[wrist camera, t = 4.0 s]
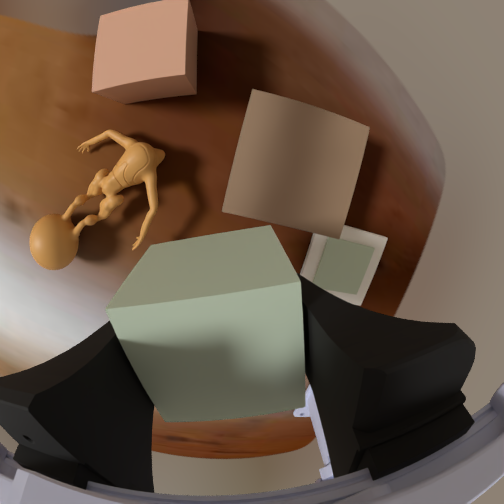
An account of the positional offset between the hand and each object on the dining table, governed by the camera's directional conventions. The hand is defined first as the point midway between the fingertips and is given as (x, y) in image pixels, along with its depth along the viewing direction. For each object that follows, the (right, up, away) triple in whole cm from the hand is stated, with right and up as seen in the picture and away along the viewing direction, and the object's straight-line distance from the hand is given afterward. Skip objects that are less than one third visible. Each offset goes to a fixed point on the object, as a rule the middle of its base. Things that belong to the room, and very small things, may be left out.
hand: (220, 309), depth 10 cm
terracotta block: (-5, +15, +4) cm, 16 cm away
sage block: (0, +1, +2) cm, 2 cm away
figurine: (-14, +2, +4) cm, 15 cm away
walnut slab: (+4, +8, +7) cm, 11 cm away
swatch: (+8, +1, +10) cm, 13 cm away
